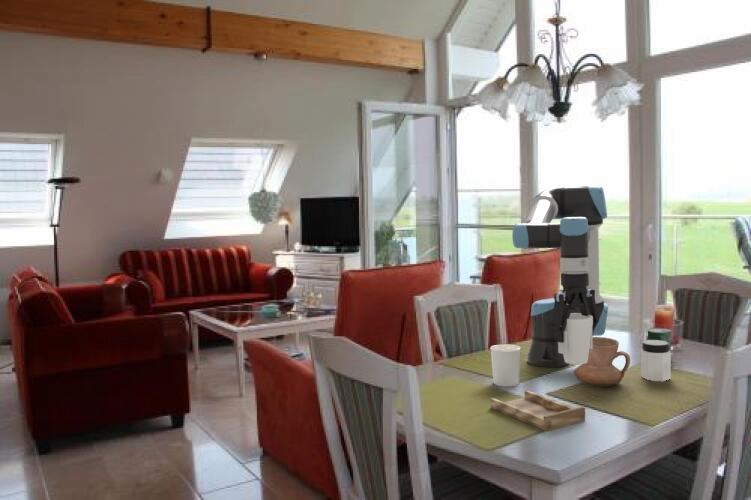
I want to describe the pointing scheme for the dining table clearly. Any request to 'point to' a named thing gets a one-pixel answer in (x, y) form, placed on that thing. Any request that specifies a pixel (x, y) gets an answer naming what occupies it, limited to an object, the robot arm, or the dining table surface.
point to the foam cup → (578, 338)
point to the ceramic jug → (602, 364)
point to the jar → (655, 360)
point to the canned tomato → (660, 335)
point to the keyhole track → (540, 411)
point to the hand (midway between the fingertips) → (575, 350)
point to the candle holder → (505, 364)
